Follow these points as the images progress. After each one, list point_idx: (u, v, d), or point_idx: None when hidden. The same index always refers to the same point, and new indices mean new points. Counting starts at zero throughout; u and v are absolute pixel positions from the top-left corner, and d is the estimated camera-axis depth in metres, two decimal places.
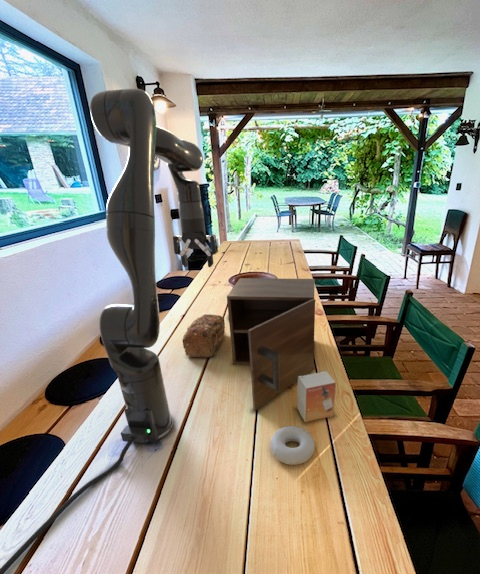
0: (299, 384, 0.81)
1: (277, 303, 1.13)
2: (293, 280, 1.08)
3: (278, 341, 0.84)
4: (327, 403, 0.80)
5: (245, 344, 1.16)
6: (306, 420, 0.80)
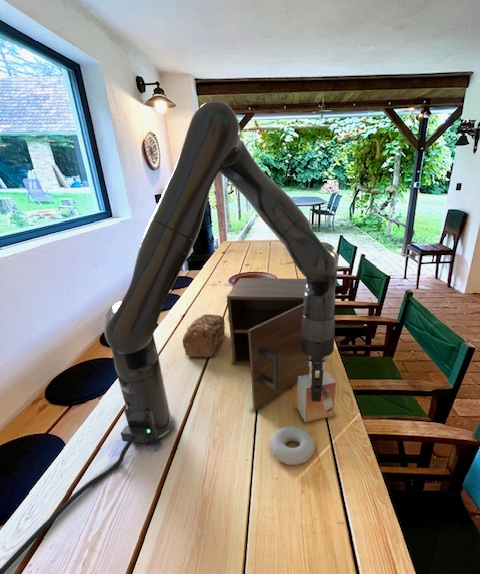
0: (299, 384, 0.81)
1: (277, 303, 1.13)
2: (293, 280, 1.08)
3: (278, 341, 0.84)
4: (327, 403, 0.80)
5: (245, 344, 1.16)
6: (306, 420, 0.80)
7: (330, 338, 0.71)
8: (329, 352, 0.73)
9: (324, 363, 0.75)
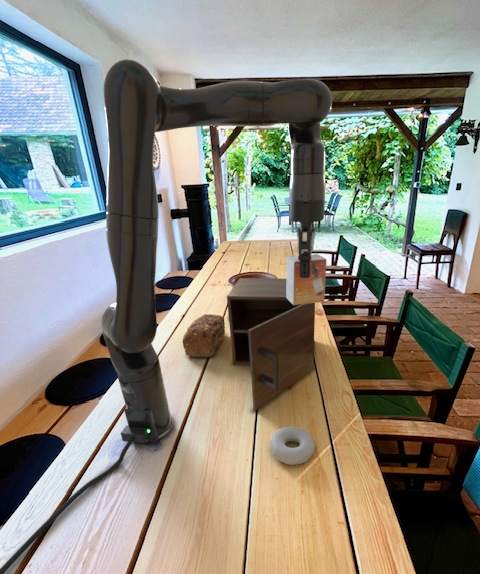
0: (287, 264, 0.75)
1: (277, 303, 1.13)
2: None
3: (278, 341, 0.84)
4: (317, 284, 0.74)
5: (245, 344, 1.16)
6: (294, 303, 0.75)
7: (319, 198, 0.66)
8: (318, 216, 0.67)
9: (313, 233, 0.69)
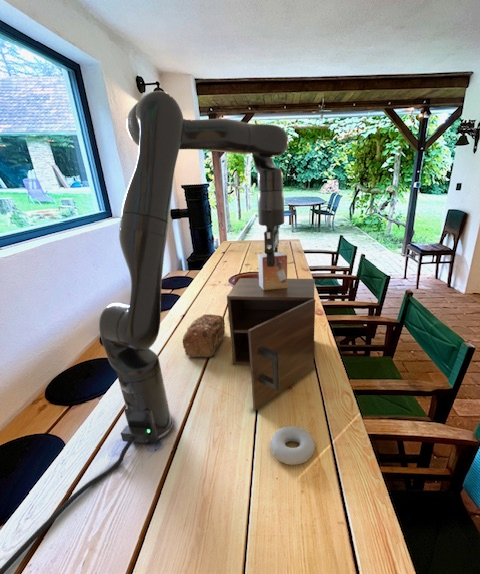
0: (258, 260, 1.00)
1: (277, 303, 1.13)
2: (293, 280, 1.08)
3: (278, 341, 0.84)
4: (281, 274, 0.99)
5: (245, 344, 1.16)
6: (264, 288, 0.99)
7: (279, 208, 0.90)
8: (279, 221, 0.91)
9: (276, 233, 0.94)
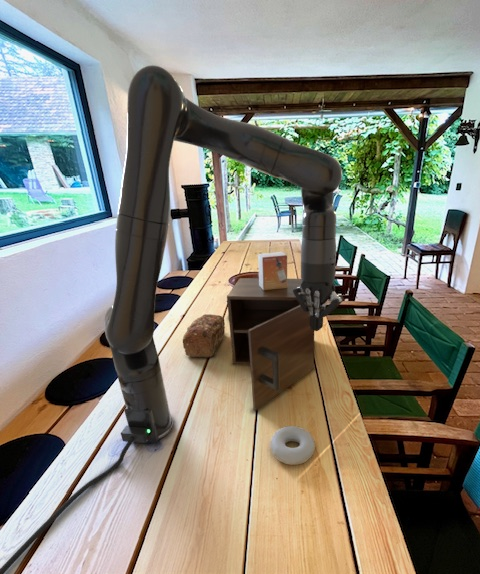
0: (258, 260, 1.00)
1: (277, 303, 1.13)
2: (293, 280, 1.08)
3: (278, 341, 0.84)
4: (281, 274, 0.99)
5: (245, 344, 1.16)
6: (264, 288, 0.99)
7: None
8: None
9: None
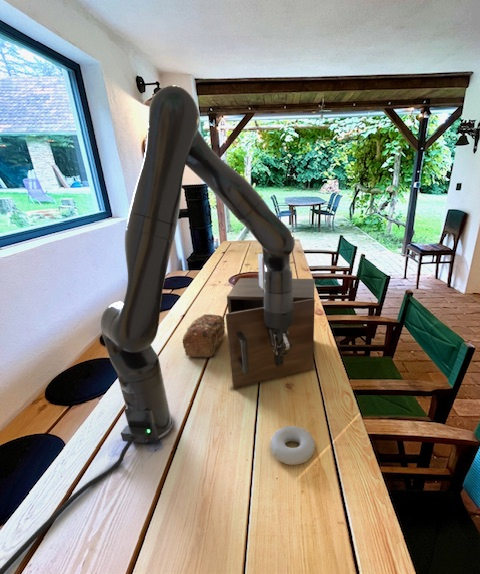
0: (258, 260, 1.00)
1: None
2: (293, 280, 1.08)
3: (262, 331, 0.90)
4: None
5: None
6: None
7: (292, 308, 0.80)
8: (292, 321, 0.82)
9: None
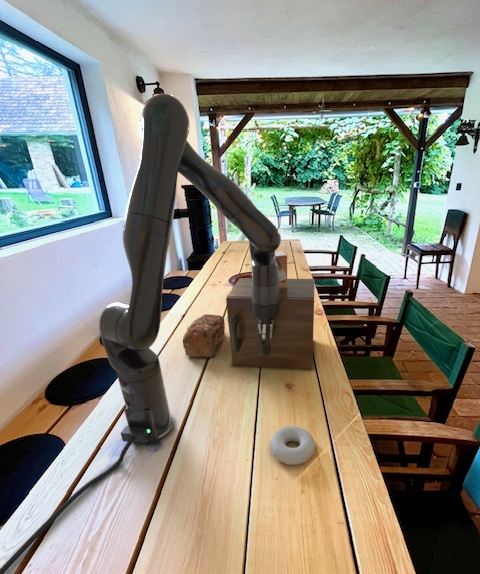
0: None
1: None
2: (293, 280, 1.08)
3: (259, 319, 0.97)
4: (281, 274, 0.99)
5: None
6: None
7: (274, 302, 0.85)
8: (274, 315, 0.86)
9: (271, 326, 0.88)
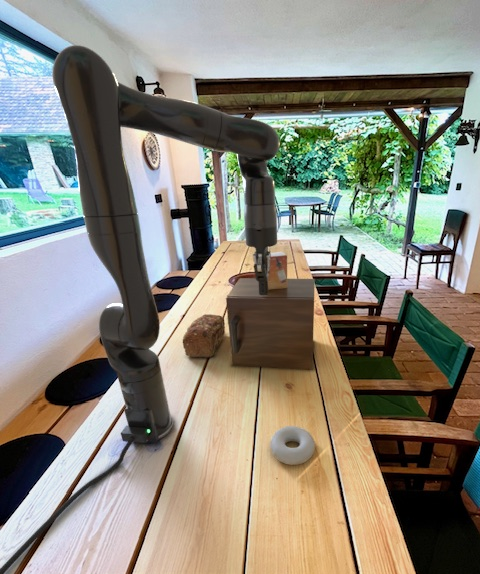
0: None
1: None
2: (293, 280, 1.08)
3: (259, 319, 0.97)
4: (281, 274, 0.99)
5: None
6: None
7: (271, 226, 0.72)
8: (271, 242, 0.74)
9: (268, 258, 0.76)
